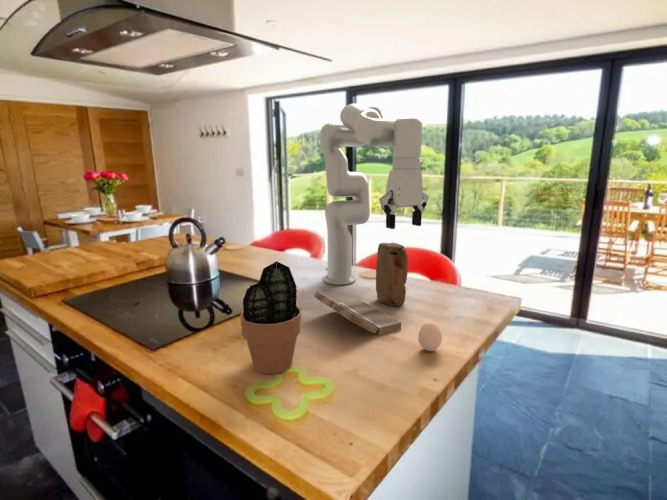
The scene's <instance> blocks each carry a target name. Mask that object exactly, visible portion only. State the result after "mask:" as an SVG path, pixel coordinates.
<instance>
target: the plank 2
mask: <svg viewBox="0 0 667 500" xmlns="http://www.w3.org/2000/svg"><path fill="white" fill-rule="evenodd" d="M335 302H336V301H335ZM335 302H334V303H333V304H332V306H331V308H330V309H331V310H333V311H335V312H336V313H338V314H339V315H341V316H342V317H344V318H345V319H346V320H349V321H350V322H352V323H353V324H355V325H357V326H359V327H360V328H363V329H365V330H367V331H368V332H370V333H373V335H376V331H377V329H378V327H376V326H374V325H373V324H371V323H369V322H368V321H366V320H365V319H363V318H361V317H360V316H358V315H356V314H355V313H353V312H351V311H349V310H347V309H346V308H344V307H342V306H340V305H339V304H340V303H338V302H337V303H338V304H337V303H335Z"/></svg>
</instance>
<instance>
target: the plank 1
mask: <svg viewBox="0 0 667 500" xmlns="http://www.w3.org/2000/svg"><path fill="white" fill-rule="evenodd" d="M312 297H313V298H315V299H317V300H318V301H319V302H321V303H322V304H324V305H326V306H327V307H329V308H330V309H332V308H331V306H332V304H333V303H334V302H335V303H337V304H339V305H340V303H339V302H337V301H336V300H333V299H332V298H330V297H328V296H326V295H324V294H322V293H321V292H319V291H318V290H316V291H315V292H314V295H313V296H312ZM340 306H342V305H340ZM342 307H343V306H342ZM344 308H345V307H344ZM346 309H347V308H346ZM347 310H348V309H347ZM349 311H350V310H349ZM351 312H352V311H351Z"/></svg>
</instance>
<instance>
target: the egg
mask: <svg viewBox="0 0 667 500" xmlns="http://www.w3.org/2000/svg"><path fill="white" fill-rule="evenodd" d="M441 331H442V330H441V328H440V327H439V325H438V324H437V323H436V322H434V321H426V322H424V323H423V324H422V325H421V327H420V328H419V331H418V337H417V338H418V343H419V345H420V347H422V349H423V350H425V351H427V352H433V351H436V350H437V349H438V348H439V347H440V346H441V344H442V339H443V333H442V332H441Z"/></svg>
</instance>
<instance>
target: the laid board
mask: <svg viewBox="0 0 667 500" xmlns="http://www.w3.org/2000/svg"><path fill="white" fill-rule="evenodd" d="M339 304H340V305H342V306H343V307H345V308H347V309H348V310H350V311H352V312H353V313H355V314H356V315H358V316H360V317H361V318H363V319H365V320H366V321H368V322H369V323H371V324H373V325H374V326H376V327H378V329H377V331H376V333H377V335H382V334H386V333H390V332H393V331H397V330H401V329H402V322H401V321H400V320H398V319H397V318H395V317H392V316H391V315H389V314H387V313H385V312H383V311H382V310H380V309H378V308H376V307H375V306H373V305H371V304H369V303H367V302H365V301H363V300H361V299H356V300H351V301H347V302H343V303H342V302H341V303H339ZM376 333H375V334H376Z"/></svg>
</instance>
